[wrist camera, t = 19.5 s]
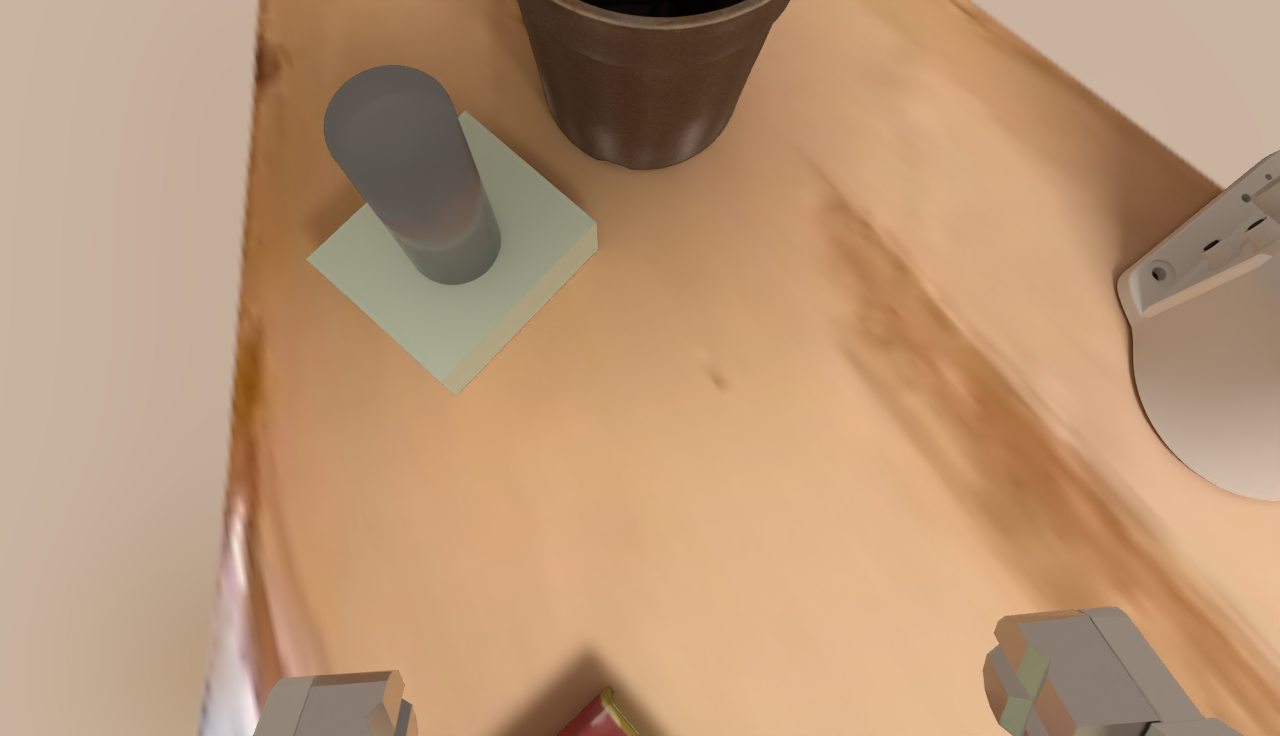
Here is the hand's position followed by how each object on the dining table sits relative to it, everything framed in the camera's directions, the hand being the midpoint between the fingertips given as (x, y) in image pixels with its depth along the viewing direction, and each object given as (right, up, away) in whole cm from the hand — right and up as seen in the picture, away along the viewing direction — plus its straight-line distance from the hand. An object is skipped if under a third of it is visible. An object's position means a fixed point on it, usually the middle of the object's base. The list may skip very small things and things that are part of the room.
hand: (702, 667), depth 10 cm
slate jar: (-11, +11, +30) cm, 34 cm away
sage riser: (-11, +10, +34) cm, 37 cm away
